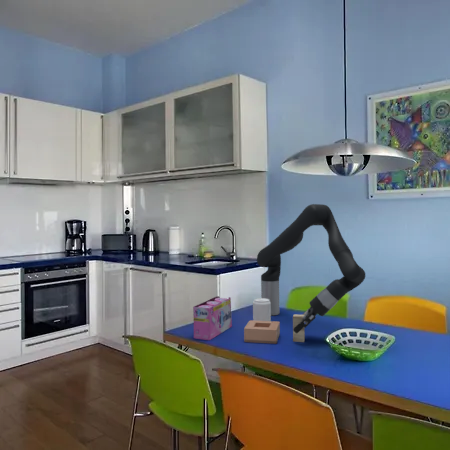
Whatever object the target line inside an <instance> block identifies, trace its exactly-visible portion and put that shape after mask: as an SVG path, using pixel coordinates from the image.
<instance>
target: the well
mask: <svg viewBox="0 0 450 450" xmlns="http://www.w3.org/2000/svg"><path fill="white" fill-rule="evenodd" d="M280 323H281V322H280V321H277V320H276V321H274V320H273V321H272V320H271V321H254V320H253V319H252V320H249V321H248V322H247V324H246V325H245V326H244V328H243V340H244V341H243V342H244V343H256V344H271V345H272V344H274V345H276V344H278V342H279V341H278V340H279V338H280V335H281V334H280V333H281V331H280V330H281V327H280V326H281V325H280Z"/></svg>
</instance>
